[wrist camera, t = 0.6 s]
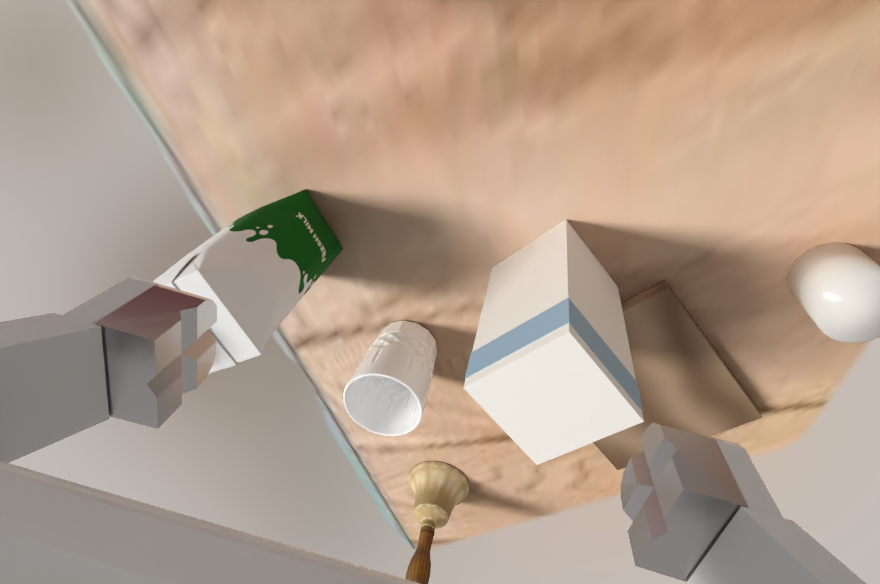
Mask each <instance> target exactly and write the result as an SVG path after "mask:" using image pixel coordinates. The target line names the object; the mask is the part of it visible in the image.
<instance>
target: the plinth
mask: <svg viewBox="0 0 880 584" xmlns="http://www.w3.org/2000/svg"><path fill="white" fill-rule="evenodd" d="M621 306H622V311H623V316H624V321H625V326H626V332H627V337H628V342H629V347H630V352H631V357H632V362H633V368H634V373H635V378H636V381H637V383H638V388H639V393H640V398H641V403H642V409H643V411H642V414H643V419H644V422H642V423H639V424H637V425H635V426H632V427H630V428H627V429H625V430H622V431H620V432H617V433H615V434H612V435H610V436H607V437H605V438H602V439H600V440H597V441H595V442H593V443H594V444H595V445H596V446H597V447H598V448H599V450H600V451H601V452H602V453H603V454H604V455H605V456H606V457H607V459H608V460H609V461H610V462H611V463H612V464H613V465H614V466H615V468H616V469H617V470H619V469H622V468H625V467H626V466H627V464H628V462H629V460H630V458H631V457H632V456H634V455H636V454H638V453H640V452H642V451H644V450H643V446H642V443H641V437H642V435H643V434H644V432H645V430H646V428H647V427H648V426H650V425H651V424H652V423H657V424H660V425H664V426H668V427H672V428H676V429H680V430H683V431H687V432H691V433H695V434H699V435H703V436H707V437H710V436H712V435H715V434H718V433H721V432H723V431H726V430H729V429H732V428H734V427H737V426H740V425H742V424H745V423H748V422H751V421H753V420H756V419H759V418H762V416H761V414H760V412H759V410H758V408H757V406H756V405H755V403H754V402H753V401H752V399H751V398H750V397H749V395H748V394H747V392H746V391H745V390H744V388H743V387H742V386H741V384H740V383H739V381H738V380H737V379H736V377H735V376H734V375H733V373H732V372H731V370H730V369H729V368H728V366H727V365H726V364H725V362H724V361H723V360H722V358H721V357H720V355H719V354H718V353H717V351H716V350H715V349H714V347H713V346H712V344H711V343H710V342H709V340H708V339H707V338H706V336H705V335H704V333H703V332H702V331H701V329H700V328H699V327H698V325H697V324H696V323H695V321H694V320H693V318H692V317H691V316H690V314H689V313H688V312H687V310H686V309H685V307H684V306H683V305H682V303H681V302H680V301H679V299H678V298H677V296H676V295H675V294H674V292H673V291H672V290H671V288H670V287H669V286H668V284H667V283H666V281H665V280H664V281H662V282H660V283H658V284H657V285H655V286H653V287H651V288H649V289H647V290H645V291H643V292H641V293H640V294H638V295H636V296H634V297H632V298H630V299H628V300H626V301H625V302H623V303H621Z"/></svg>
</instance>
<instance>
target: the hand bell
mask: <svg viewBox="0 0 880 584" xmlns="http://www.w3.org/2000/svg"><path fill="white" fill-rule="evenodd" d="M408 481H409V485H410V488H411V490H412V491H413V493H414V494H415V506H414V517H415V519H416V520H417V522H418V523H420V524H421V525H422V526H421V531H420V537H419V543H418V547H417V550H416V552H415V554H414V556H413V557H412V559H411V561H410V564H409V566H408V570H407V574H406V580H410V581H413V582H416V583H420V584H428V581H429V577H430V568H431V562H430V549H431V544H432V541H433V536H434V530H435V529H436V528H441V527H443V526H445V525H446V524H447V522H448V520H449V517H450V514H451V512H452V510H453V508H454V506H455V505H457V504H459V503H461V502H462V501H463V500H464V499H465V498H466V497H467V496H468V494H469V490H470V486H469V482H468V480H467V478H466V476H465V475H464V474H463V473H462V472H461V471H460V470H458V469H457V468H455V467H454V466H451V465H449V464H447V463H443V462H439V461H427V462H422V463H419V464H417V465H415V466H414V467H413V468H412V469H411V471H410V473H409V476H408Z"/></svg>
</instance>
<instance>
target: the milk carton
mask: <svg viewBox="0 0 880 584" xmlns="http://www.w3.org/2000/svg"><path fill="white" fill-rule="evenodd" d="M341 250H342V247H341V245H340V244H339V242H338V241H337V239H336V237H335V236H334V234H333V232H332V231H331V229H330V228H329V226H328V224H327V223H326V221H325V219H324V218H323V216H322V215H321V213H320V211H319V210H318V208H317V206H316V205H315V203H314V202H313V200H312V198H311V197H310V195H309V193H308V192H307V190H306V189H305V190H303V191H301V192H298V193H296V194H293V195H291V196H288V197H286V198H283V199H281V200H278V201H276V202H273V203H271V204H268V205H266V206H263V207H261V208H259V209H257V210H255V211H253V212H251V213H249V214H247V215H245V216H243V217H241V218H239V219H237V220H236V221H234V222H233V223H231V224H230V225H228V226H227V227H225V228H224V229H222V230H221V231H220V232H218V233H217V234H215V235H214V236H213V237H211V238H210V239H209V240H207V241H206V242H204V243H203V244H202V245H200V246H199V247H197V248H196V249H195V250H193V251H192V252H190V253H189V254H188V255H186V256H185V257H184V258H182V259H181V260H180V261H178V262H177V263H176V264H175V265H173V266H172V267H171V268H170V269H169V270H167V271H166V272H165V273H164V274H162V275H161V276H159V277H158V278H157V279H155V280H154V281H153V282H155V283H158V284H160V285H165V286H168V287H172V288H175V289H178V290H182V291H185V292H188V293H192V294H195V295H198V296H202V297H205V298H208V299H212V300H213V301H214V303H215V304H216V305H217V322H216V323H215V324H213V325H212V326H211V327H210V328H209V330H210V332H211V333H212V335H213V337H214V338H215V340H216V354H215V359H214V363H213V366H212V368H211V369H210V371H209V373H212V372H215V371H218V370H222V369H224V368H229V367H233V366H235V365H237V364H239V363H240V362H242V361H244V360H247V359H250V358H253V357H256V356H259V355H261V354H262V352H263V350H264V348H265V346H266V344H267V342H268V340H269V338H270V336H271V334H272V333H273V332H274V331H275V329H276V328H277V327H278V326H279V325H280V324H281V322H282V321H283V320H284V319H285V317H286V316H287V315H288V314H289V313H290V311H291V310H292V309H293V308H294V307H295V305H296V304H297V303H298V302H299V301H300V299H301V298H302V297H303V296H304V295H305V293H306V292H307V291H308V290H309V289H310V287H311V286H312V285H313V284H314V282H315V281H316V280H317V279H318V278H319V277H320V275H321V274H322V273H323V272H324V271H325V269H326V268H327V267H328V266H329V264H330V263H331V262H332V261H333V260H334V258H335V257H336V256H337V255H338V254H339V253H340V251H341ZM209 373H208V374H209Z"/></svg>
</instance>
